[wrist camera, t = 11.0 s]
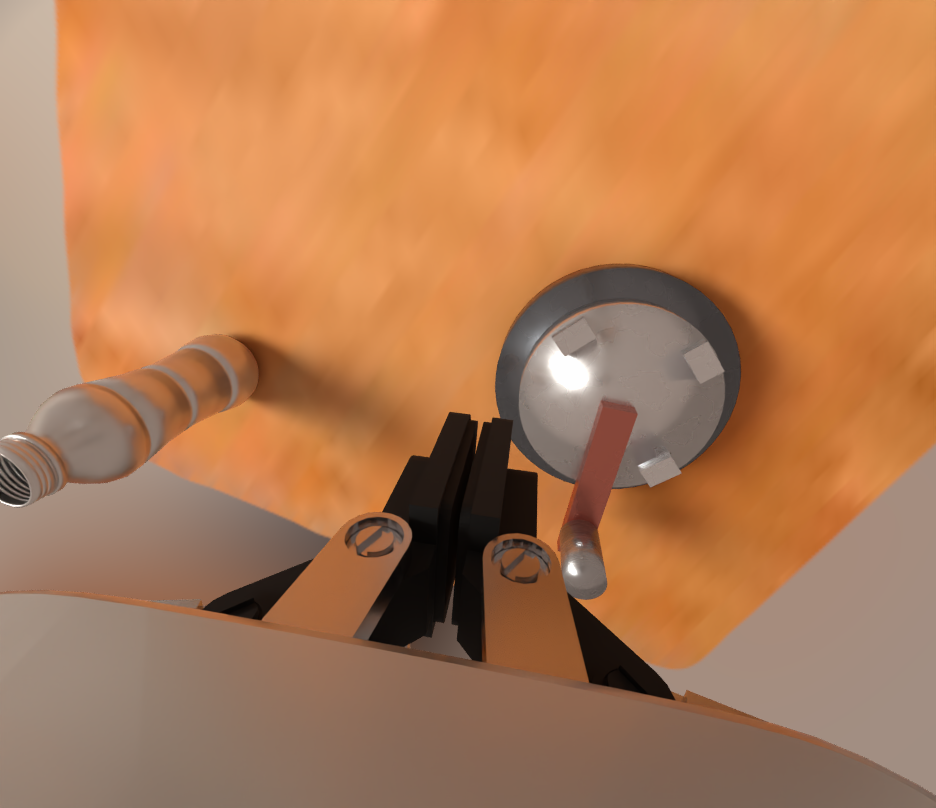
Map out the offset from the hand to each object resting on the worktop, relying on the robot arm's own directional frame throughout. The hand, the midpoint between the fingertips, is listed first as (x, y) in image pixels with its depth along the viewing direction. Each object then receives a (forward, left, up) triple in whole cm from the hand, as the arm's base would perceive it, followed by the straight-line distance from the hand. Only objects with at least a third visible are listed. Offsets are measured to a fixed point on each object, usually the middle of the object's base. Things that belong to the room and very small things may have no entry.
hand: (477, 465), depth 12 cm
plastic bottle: (+12, -25, -26) cm, 38 cm away
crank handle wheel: (+8, +9, -23) cm, 26 cm away
